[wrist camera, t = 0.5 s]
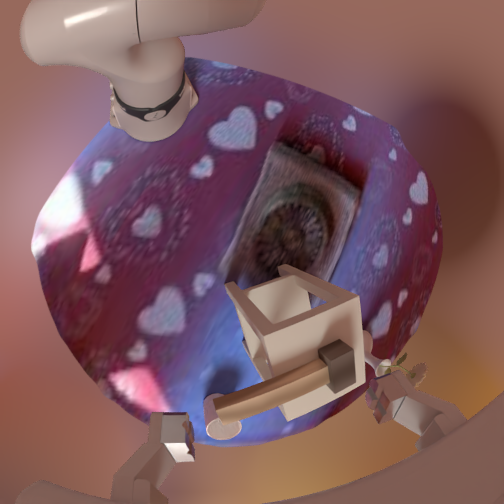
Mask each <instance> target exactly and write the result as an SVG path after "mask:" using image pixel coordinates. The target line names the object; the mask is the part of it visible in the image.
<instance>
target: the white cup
mask: <svg viewBox="0 0 504 504" xmlns="http://www.w3.org/2000/svg"><path fill="white" fill-rule="evenodd" d="M221 396H224V394H220V393H216V394H211V395H209V396H207V397H206V398H205V400H204V402H203V408H204V419H205V425H206V432H207V434H208V435H209V436H210V437H212V438H214V439H218V440H226V439H230V438H232V437H234V436H236V435H237V434H238V433H239V432H240V431H241V428H242V425H241V422H240V420H239V421H236V422H233V423H230V424H227V425H223V424H222V422H221V420H220V418H219V416H218V414H217V412H216V410H215V406H214V403H213V399H214V398H218V397H221Z"/></svg>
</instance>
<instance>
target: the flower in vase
mask: <svg viewBox="0 0 504 504" xmlns="http://www.w3.org/2000/svg"><path fill="white" fill-rule="evenodd" d="M363 344H364V361H366V362H367V363H369V364H370V365H371V366H372V367H373V368H374V370H375V374H376V376H377V377H380V376H382V375H385V374H388V373H391V370H390V367H401V366H398V365H399V364H401V363H402V362H403V361H404V360H405V359H406V356H407V353H405V354H404V355H403V356H402V357H401V358H400V359H399V360H398V361H397V365H393V366H391V361H390V360H389V359H385V360H381V359H378V358H376V357H374V356H373V355H371V350H372V345H373V340H372V337H371V335H370V333H369V332H368V331H365V330H363ZM425 364H426V363H423V364H422V363H420V364H417V365H416V366H414V367H413V369H412V370H410V371H407V370H406V369H404V368H403V367H401V368H402V369H403V370H405V371H406V372H408V374H407V375H406V376H405V377H406V378H407V379H408V381H409V382H410V383H411V384H412V386H413V387H415V386H416V387H418V386H419V385H420V382H422V381H423V378H425V377H426V374H425V373H426V372H427V371H428V369H427V368H428V367H427V365H425Z"/></svg>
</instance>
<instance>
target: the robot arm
mask: <svg viewBox="0 0 504 504" xmlns="http://www.w3.org/2000/svg"><path fill="white" fill-rule="evenodd" d="M265 2H266V0H32V1H31V2H30V4H29V5H28V7H27V9H26V11H25V13H24V15H23V19H22V22H21V26H20V41H21V45H22V48H23V50H24V52H25V54H26V55H27V56H28V57H29V58H30V59H31V60H32V61H33V62H35V63H37V64H38V65H41V66H48V65H71V66H78V67H82V68H86V69H89V70H92V71H95V72H97V73H100V74H102V75H104V76H106V77H107V78H108V79H109V80H110V89H111V90H112V95H111V110H110V124H111V126H113V127H115V128H119V129H123V130H124V131H125V132H127V133H128V134H129V135H130V136H132V137H133V138H135V139H138V140H141V141H158V140H162V139H164V138H167V137H169V136H170V135H172V134H173V133H175V132H176V131H177V130H178V129H179V128H180V127H181V126H182V124H183V123H184V121H185V119H186V117H187V115H188V113H189V111H190V110H191V109H192V108H193V107H195V106H196V104H197V103H198V96H197V94H196V92H195V90H194V88H193V86H192V84H191V82H190V81H189V79H188V77H187V75H186V73H185V71H184V60H185V49H184V46H183V44H182V42H181V41H180V39H179V38H178V37H179V36H189V35H201V34H207V33H211V32H216V31H222V30H227V29H232V28H237V27H243V26H246V25H247V24H249V23H250V22H251V21H252V20H253V19H254V18H255V17H256V16H257V15H258V14H259V13H260V11H261V10H262V8H263V7H264V5H265ZM114 115H115V117H114ZM369 385H370V388H369V389H368V390H367V392H366V396H365V397H366V403H367V405H368V407H369V408H370V409H372V410H374V412H373V415H374V417H375V419H376V421H377V422H378V424H381V423H383V422H386V421H389V420H391V419H394V420H395V421H397V422H398V423H400V424H402V425H403V426H405V427H407V428H408V429H410V430H412V431H414V432H415V433H417V434H419V435H420V436H421V437H420V438H419V439H418V441H417V442H416V444H415V446H416V447H417V449H418V451H419V452H417V453H415V454H413V455H411V456H410V457H408V458H406V459H404V460H402V461H400V462H398V463H395V464H393V465H391V466H389V467H387V468H385V469H382V470H380V471H378V472H376V473H373V474H371V475H368V476H366V477H363V478H360V479H358V480H355V481H352V482H349V483H347V484H344V485H341V486H337V487H335V488H331V489H328V490H325V491H321V492H317V493H313V494H310V495H305V496H301V497H297V498H293V499H287V500H282V501H277V502H271V503H264V504H504V391H503V392H502V393H501V394H500V395H498V396H497V397H496V398H495V399H494V400H493V401H492V402H490V403H489V404H488V405H487V406H485V407H484V408H483V409H482V410H481V411H479V412H478V413H477V414H475V415H474V416H473V417H472V418H470V419H469V420H467V419H466V418H465V417H464V415H463V414H462V413H461V412H460V410H459V409H458V408H457V406H456V405H455V404H452V403H450V402H447V401H444V400H442V399H439V398H437V397H434V396H432V395H429V394H427V393H424V392H422V391H420V390H419V391H416V390H415V388H414V387H413V386H412V384H411V383H410V382H409V381H408V379H407V378H406V377H405V376H404V374H403V373H402V372H401V371H400V370H397V371H394V372H392V373H388V374H385V375H382V376H380V377H377V378H374V379H372V380H371V381H370V383H369ZM193 442H194V429H193V425H192V422H190V421H189V415H188V413H187V412H152V414H151V417H150V425H149V433H148V442H147V443H144V444H143V445H142V446H141V447H140V448H139V449H138V450H137V451H136V452H135V453H134V454H133V455H132V457H130V458H129V460H128V461H127V462H126V463H125V464H124V465H123V466H122V467H121V468H120V469H119V470H118V471H117V472H116V473H115V474H114V477H113V484H112V491H111V500H109V499H105V498H101V497H96V496H92V495H88V494H84V493H81V492H77V491H73V490H71V489H68V488H65V487H62V486H59V485H56V484H53V483H50V482H47V481H44V480H39V481H37V482H35V483H33V484H32V485H30V486H29V487H27V488H26V489H25V490H23V491H22V492H21V493H20V494H19V495H18V497H17V499H16V502H15V504H168V498H167V497H166V496H164V495H163V494H162V493H161V492H160V491H159V490H158V488H159V487H160V485H161V484H162V483H163V481H164V480H165V478H166V477H167V475H168V474H169V472H170V471H171V469H172V468H173V467H174V465H175V464H176V462H188V461H189V462H191V461H195V449H194V447H193V444H192V443H193Z"/></svg>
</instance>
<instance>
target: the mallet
mask: <svg viewBox="0 0 504 504" xmlns="http://www.w3.org/2000/svg"><path fill="white" fill-rule="evenodd" d="M318 355H319V358H318V359H316V360H313V361H311V362H309V363H307V364H305V365H302V366H300V367H298V368H295V369H293V370H291V371H288V372H286V373H284V374H281V375H279V376H276V377H274V378H271V379H269V380H266V381H263V382H261V383H258V384H255V385H253V386H250V387H247V388H244V389H242V390H239V391H236V392H233V393H230V394H227V395H224V396H221V397H218V398H214V399H213V403H214V406H215V410H216V412H217V414H218V416H219V418H220V420H221V422H222V424H223V425H227V424H230V423H233V422H236V421H239V420H242V419H245V418H248V417H251V416H253V415H256V414H259V413H261V412H264V411H267V410H269V409H272V408H274V407H277V406H279V405H282V404H284V403H287V402H289V401H291V400H294V399H296V398H298V397H300V396H303V395H305V394H307V393H309V392H311V391H313V390H316V389H318V388H320V387H322V386H324V385H327V386H328V387H329V389H330V390H331V391H332V392H333V393H334V394H336V393H338V392H340V391H342V390H344V389H345V388H347V387H349V386H351V385H353V384H354V383H356V371H355V357H354V349H353V348H352V347H350V346H349V345H347V344H346V343H345V342H343V341H342V340H340V339H338V340H336V341H334V342H332V343H330V344H328V345H325V346H323V347H321V348H319V349H318Z"/></svg>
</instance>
